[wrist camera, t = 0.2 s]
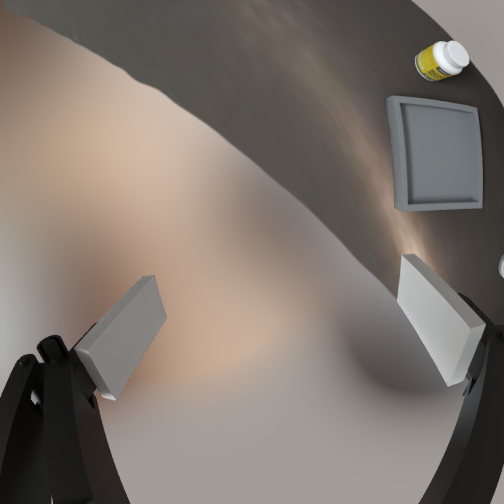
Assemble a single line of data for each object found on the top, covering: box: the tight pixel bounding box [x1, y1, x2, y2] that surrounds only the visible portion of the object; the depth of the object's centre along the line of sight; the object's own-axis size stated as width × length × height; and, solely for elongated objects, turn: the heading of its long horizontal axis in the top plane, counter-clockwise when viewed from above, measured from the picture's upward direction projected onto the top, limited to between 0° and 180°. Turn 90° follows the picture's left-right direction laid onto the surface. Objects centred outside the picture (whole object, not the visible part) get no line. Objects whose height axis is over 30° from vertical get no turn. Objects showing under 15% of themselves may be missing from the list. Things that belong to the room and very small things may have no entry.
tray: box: [385, 96, 483, 212], centre depth 32 cm, size 17×17×3 cm
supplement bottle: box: [415, 41, 469, 81], centre depth 24 cm, size 5×5×10 cm
